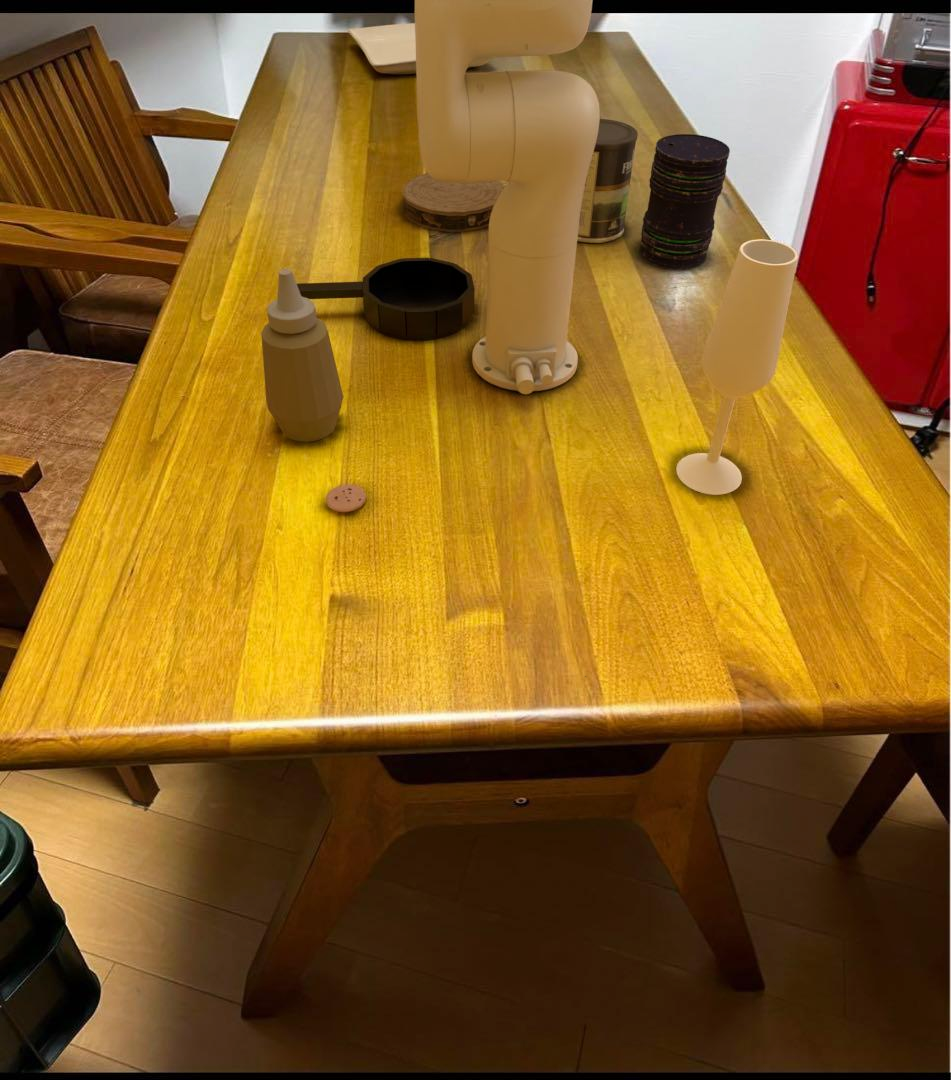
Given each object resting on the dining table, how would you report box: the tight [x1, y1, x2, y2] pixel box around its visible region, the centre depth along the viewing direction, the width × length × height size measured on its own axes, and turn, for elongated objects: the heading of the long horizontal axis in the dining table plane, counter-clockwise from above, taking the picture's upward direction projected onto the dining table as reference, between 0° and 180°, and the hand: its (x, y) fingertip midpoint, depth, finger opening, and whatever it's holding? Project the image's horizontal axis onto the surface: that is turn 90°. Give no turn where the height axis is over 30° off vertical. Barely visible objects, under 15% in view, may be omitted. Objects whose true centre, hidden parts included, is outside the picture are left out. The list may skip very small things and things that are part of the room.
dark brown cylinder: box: [638, 133, 731, 271], centre depth 117 cm, size 10×10×15 cm
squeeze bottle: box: [260, 268, 344, 443], centre depth 85 cm, size 8×8×18 cm
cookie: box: [325, 483, 367, 513], centre depth 83 cm, size 4×4×1 cm
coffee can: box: [577, 118, 639, 244], centre depth 123 cm, size 10×10×14 cm
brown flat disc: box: [402, 172, 505, 233], centre depth 131 cm, size 16×16×3 cm
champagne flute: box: [675, 238, 799, 496], centre depth 79 cm, size 7×7×24 cm
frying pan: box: [296, 257, 475, 341], centre depth 108 cm, size 14×24×4 cm, turn 96°
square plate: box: [347, 22, 495, 75], centre depth 187 cm, size 27×27×4 cm
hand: (467, 15), depth 119 cm, fingers open, 9 cm apart
